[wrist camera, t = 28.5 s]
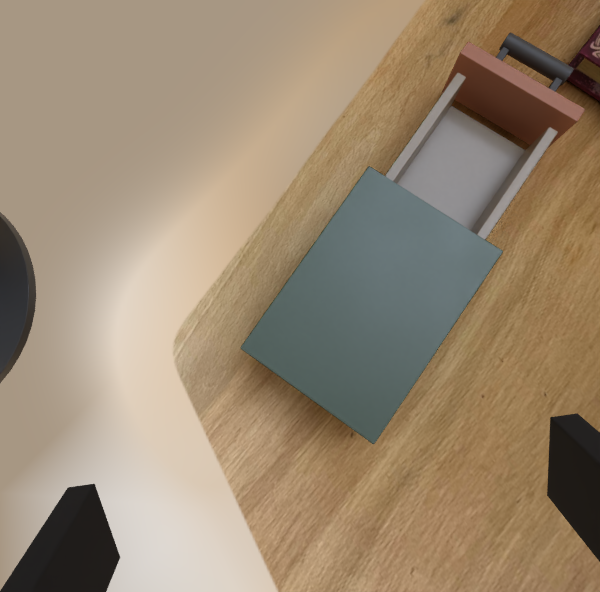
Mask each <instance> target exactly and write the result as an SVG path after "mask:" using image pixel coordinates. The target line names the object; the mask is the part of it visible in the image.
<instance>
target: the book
mask: <svg viewBox="0 0 600 592" xmlns="http://www.w3.org/2000/svg"><path fill="white" fill-rule="evenodd" d="M569 66H570V67H572V68H574V70H573V72H572V73H571V75H570V76H569V77H568V79H567V80H568V81H570V82H571V83H573V84H574V85H576V86H577V87H579V88H581V89H582V90H584V91H585V92H587V93H588V94H590V95H591V96H593V97H594V98H596V99H597V100H599V101H600V26H599V27H598V28H597V30H596V31H595V32H594V33H593V35H592V36H591V37H590V39H589V40H588V41H587V42H586V44H585V45H584V46H583V47H582V49H581V50H580V51H579V53H578V54H577V55H576V56H575V58H574V59H573V60H572V61H571V63H570V64H569Z"/></svg>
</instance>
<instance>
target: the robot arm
mask: <svg viewBox="0 0 600 592" xmlns="http://www.w3.org/2000/svg"><path fill="white" fill-rule="evenodd" d="M547 496H548V497H549V498H550V499H551V501H552V502H553V503H554V504H555V506H556V507H557V508H558V510H559V511H560V512H561V513H562V515H563V516H564V517H565V518H566V520H567V521H568V522H569V523H570V525H571V526H572V527H573V528H574V530H575V531H576V532H577V534H578V535H579V536H580V537H581V539H582V540H583V541H584V542H585V544H586V545H587V546H588V547H589V549H590V550H591V551H592V552H593V554H594V555H595V556H596V557H597V559H598V560H599V561H600V433H599V432H598V431H597V430H596V429H595V428H594V427H592V426H591V425H590V424H589V423H588V422H587V421H585V420H584V419H583V418H582V417H581V416H580V415H578V414H570V415H564V416H557V417H550V442H549V467H548V492H547ZM119 559H120V556H119V553H118V550H117V547H116V544H115V541H114V539H113V536H112V533H111V530H110V527H109V524H108V521H107V518H106V515H105V513H104V510H103V507H102V504H101V501H100V498H99V495H98V493H97V490H96V487H95V484H90V485H83V486H76V487H69V488H67V490H66V491H65V493H64V495H63V496H62V498H61V499H60V501H59V502H58V504H57V505H56V507H55V508H54V510H53V511H52V513H51V514H50V516H49V517H48V519H47V521H46V522H45V524H44V525H43V527H42V528H41V530H40V531H39V533H38V534H37V536H36V537H35V539H34V540H33V542H32V543H31V545H30V546H29V548H28V549H27V551H26V553H25V554H24V556H23V557H22V559H21V560H20V562H19V563H18V565H17V566H16V568H15V569H14V571H13V572H12V574H11V576H10V577H9V579H8V580H7V582H6V583H5V585H4V586H3V588H2V589H1V591H0V592H106V591H107V588H108V585H109V583H110V580H111V578H112V576H113V573H114V571H115V569H116V566H117V564H118V561H119Z"/></svg>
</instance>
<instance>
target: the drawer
mask: <svg viewBox="0 0 600 592" xmlns="http://www.w3.org/2000/svg"><path fill="white" fill-rule="evenodd" d="M499 50H500V52H499V54H498V55H497V56H496V57H494V56H492V55H491V54H489V53H487V52H486V51H484V50H482V49H480V48H479V47H477V46H475V45H473V44H472V43H470V42H467V44H466V45H465V47H464V48H463V50H462V51H461V52H460V54H459V56H458V59H457V61H456V63H455V65H454V67H453V69H452V72H451V74H450V76H449V78H448V80H447V82H446V84H445V87H444V89H443V91H442V92H443V94H442V95H441V97H440V98H439V99H438V101H437V102H436V104H435V105H434V107H433V108H432V109H431V111H430V112H429V114H428V115H427V117H426V118H425V119H424V121H423V122H422V124H421V125H420V127H419V128H418V129H417V131H416V132H415V134H414V135H413V136H412V138H411V139H410V141H409V142H408V144H407V145H406V146H405V148H404V149H403V151H402V152H401V154H400V155H399V156H398V158H397V159H396V161H395V162H394V164H393V165H392V166H391V168H390V169H389V171H388V172H387V174H386V175H385V176H386V177H387V178H389V179H390V180H392V181H393V182H395V183H397V184H398V185H400V186H401V187H403V188H404V189H406V190H408V191H409V192H411V193H412V194H414V195H415V196H417V197H419V198H420V199H422V200H423V201H425V202H426V203H428V204H430V205H431V206H433V207H434V208H436V209H437V210H439V211H441V212H442V213H444V214H445V215H447V216H448V217H450V218H452V219H453V220H455V221H456V222H458V223H459V224H461V225H463V226H464V227H466V228H467V229H469V230H470V231H472V232H474V233H475V234H477V235H478V236H480V237H481V238H483V239H485V240H486V239H487V237H488V236H489V234H490V233H491V231H492V230H493V228H494V227H495V225H496V224H497V222H498V221H499V219H500V218H501V216H502V215H503V213H504V212H505V210H506V209H507V207H508V206H509V204H510V203H511V201H512V200H513V199H514V197H515V196H516V194H517V193H518V191H519V190H520V188H521V187H522V185H523V184H524V182H525V181H526V179H527V178H528V176H529V175H530V173H531V172H532V170H533V169H534V167H535V166H536V164H537V163H538V161H539V160H540V158H541V157H542V155H543V154H544V153H545V151H546V150H547V148H548V147H549V146H550V145H552V144H553V143H554V142H555V141H556V140H557V139H558V138H559V137H561V136H562V135H563V134H564V133H565V132H566V131H567V130H568V129H569V128H571V127H572V126H573V125H574V124H575V123H576V122H577V121H578V120H579V118H580V117H581V115H582V114H583V112H584V111H585V109H584V108H582V107H580V106H579V105H577V104H575V103H574V102H572V101H570V100H568V99H567V98H565V97H563V96H561V95H560V94H558V93H556V92H555V91H556V90H557V89H558V87H559V86H560V85H562V84H563V83H564V82H565V81H566V80H567V79H568V77H569V76H570V75H571V73H572V72H573V70H574V68H572V67H570V66H569V65H567V64H565V63H563V62H562V61H560V60H558V59H556V58H555V57H553V56H551V55H549V54H548V53H546V52H544V51H542V50H541V49H539V48H537V47H535V46H534V45H532V44H530V43H528V42H527V41H525V40H523V39H521V38H520V37H518V36H516V35H514V34H513V33H509V35H508V36H507V37H506V39H505V40H504V42H503V44H502V45H501V47H500V49H499ZM506 55H509V56H511V57H513V58H514V59H516V60H518V61H519V62H521V63H523V64H525V65H526V66H528V67H530V68H532V69H533V70H535V71H537V72H539V73H540V74H542V75H544V76H545V77H547V78H549V79H551V80H552V81H553V82H552V83H551V85H550V86H549V88H548V87H546V86H544V85H542V84H541V83H539V82H537V81H536V80H534V79H532V78H530V77H529V76H527V75H525V74H523V73H522V72H520V71H518V70H517V69H515V68H513V67H511V66H510V65H508V64H506V63H505V62H503V59H504V58H505V56H506ZM454 100H456V101H458V102H459V103H461V104H463V105H464V106H466V107H468V108H469V109H471V110H473V111H474V112H476V113H478V114H479V115H481V116H483V117H484V118H486V119H488V120H489V121H491V122H493V123H494V124H496V125H498V126H499V127H501V128H503V129H504V130H506V131H508V132H509V133H511V134H513V135H514V136H516V137H518V138H519V139H521V140H523V141H524V142H526V143H528V144H529V145H530V146H529V147H528V148H527V149H526V150H524V149H522V148H521V147H519V146H517V145H516V144H514V143H512V142H511V141H509V140H507V139H506V138H504V137H502V136H501V135H499V134H498V133H496V132H494V131H493V130H491V129H489V128H488V127H486V126H484V125H483V124H481V123H479V122H478V121H476V120H474V119H473V118H471V117H469V116H468V115H466V114H464V113H463V112H461V111H459V110H458V109H456V108H454V107H453V106H451V105H452V103H453V101H454Z"/></svg>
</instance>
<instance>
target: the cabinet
mask: <svg viewBox="0 0 600 592" xmlns="http://www.w3.org/2000/svg"><path fill="white" fill-rule="evenodd" d="M502 253H503V251H502V250H500V249H499V248H497V247H496V246H494V245H492V244H491V243H489V242H488V241H486V240H485V239H483V238H481V237H480V236H478V235H477V234H475V233H474V232H472V231H470V230H469V229H467V228H466V227H464V226H463V225H461V224H459V223H458V222H456V221H455V220H453V219H452V218H450V217H448V216H447V215H445V214H444V213H442V212H441V211H439V210H437V209H436V208H434V207H433V206H431V205H430V204H428V203H426V202H425V201H423V200H422V199H420V198H419V197H417V196H415V195H414V194H412V193H411V192H409V191H408V190H406V189H404V188H403V187H401V186H400V185H398V184H397V183H395V182H393V181H392V180H390V179H389V178H387V177H386V176H384V175H382V174H381V173H379V172H378V171H376V170H375V169H373V168H371V167H370V166H369V167H368V168H367V169H366V171H365V172H364V174H363V175H362V176H361V178H360V179H359V181H358V182H357V183H356V185H355V186H354V188H353V189H352V190H351V192H350V193H349V195H348V196H347V198H346V199H345V200H344V202H343V203H342V205H341V206H340V207H339V209H338V210H337V212H336V213H335V215H334V216H333V217H332V219H331V220H330V222H329V223H328V224H327V226H326V227H325V229H324V230H323V231H322V233H321V234H320V236H319V237H318V239H317V240H316V241H315V243H314V244H313V246H312V247H311V248H310V250H309V251H308V253H307V254H306V256H305V257H304V258H303V260H302V261H301V263H300V264H299V265H298V267H297V268H296V270H295V271H294V273H293V274H292V275H291V277H290V278H289V280H288V281H287V282H286V284H285V285H284V287H283V288H282V289H281V291H280V292H279V294H278V295H277V297H276V298H275V299H274V301H273V302H272V304H271V305H270V306H269V308H268V309H267V311H266V312H265V314H264V315H263V316H262V318H261V319H260V321H259V322H258V323H257V325H256V326H255V328H254V329H253V330H252V332H251V333H250V335H249V336H248V338H247V339H246V340H245V342H244V343H243V345H242V346H241V349H242V350H243V351H245V352H246V353H247V354H249V355H250V356H252V357H253V358H254V359H256V360H257V361H258V362H260V363H261V364H263V365H264V366H265V367H267V368H268V369H270V370H271V371H272V372H274V373H275V374H277V375H278V376H279V377H281V378H282V379H283V380H285V381H286V382H288V383H289V384H290V385H292V386H293V387H295V388H296V389H297V390H299V391H300V392H301V393H303V394H304V395H306V396H307V397H308V398H310V399H311V400H313V401H314V402H315V403H317V404H318V405H319V406H321V407H322V408H324V409H325V410H326V411H328V412H329V413H331V414H332V415H333V416H335V417H336V418H338V419H339V420H340V421H342V422H343V423H344V424H346V425H347V426H349V427H350V428H351V429H353V430H354V431H356V432H357V433H358V434H360V435H361V436H362V437H364V438H365V439H367V440H368V441H369V442H371V443H372V444H375V442H376V441H377V439H378V438H379V436H380V435H381V433H382V432H383V430H384V429H385V427H386V426H387V424H388V423H389V421H390V420H391V418H392V417H393V415H394V414H395V412H396V411H397V409H398V408H399V406H400V405H401V404H402V402H403V401H404V399H405V398H406V396H407V395H408V393H409V392H410V390H411V389H412V387H413V386H414V384H415V383H416V381H417V380H418V378H419V377H420V375H421V374H422V372H423V371H424V369H425V368H426V366H427V365H428V363H429V362H430V360H431V359H432V357H433V356H434V354H435V353H436V351H437V350H438V348H439V347H440V345H441V344H442V342H443V341H444V339H445V338H446V336H447V335H448V333H449V332H450V330H451V329H452V327H453V326H454V324H455V323H456V321H457V320H458V318H459V317H460V315H461V314H462V312H463V311H464V309H465V308H466V306H467V305H468V303H469V302H470V300H471V299H472V297H473V296H474V294H475V293H476V291H477V290H478V288H479V287H480V285H481V284H482V282H483V281H484V279H485V278H486V276H487V275H488V273H489V272H490V270H491V269H492V268H493V266H494V265H495V263H496V262H497V260H498V259H499V257H500V256H501V254H502Z"/></svg>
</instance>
